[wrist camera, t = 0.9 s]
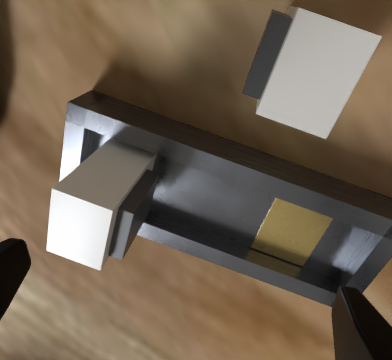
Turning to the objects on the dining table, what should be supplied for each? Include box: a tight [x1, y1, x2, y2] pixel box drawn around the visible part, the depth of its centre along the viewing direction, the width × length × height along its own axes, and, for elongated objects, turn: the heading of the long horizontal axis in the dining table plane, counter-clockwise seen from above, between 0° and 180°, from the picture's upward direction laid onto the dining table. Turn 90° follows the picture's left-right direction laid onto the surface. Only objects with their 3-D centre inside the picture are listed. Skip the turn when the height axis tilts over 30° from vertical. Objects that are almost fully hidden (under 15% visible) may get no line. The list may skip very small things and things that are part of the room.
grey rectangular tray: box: [60, 90, 392, 307], centre depth 22 cm, size 21×8×3 cm, turn 73°
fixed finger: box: [46, 138, 159, 270], centre depth 19 cm, size 4×4×7 cm
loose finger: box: [242, 6, 382, 139], centre depth 16 cm, size 4×4×7 cm
